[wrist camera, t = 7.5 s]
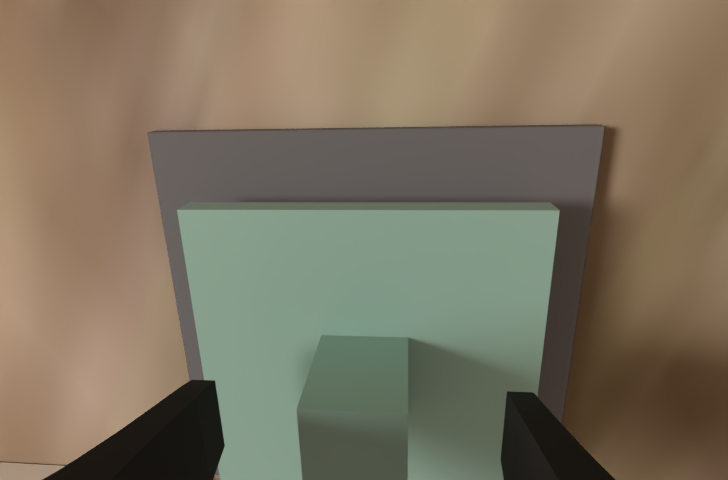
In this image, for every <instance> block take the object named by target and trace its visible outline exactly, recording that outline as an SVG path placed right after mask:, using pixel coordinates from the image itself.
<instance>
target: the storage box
mask: <svg viewBox="0 0 728 480" xmlns="http://www.w3.org/2000/svg"><path fill="white" fill-rule="evenodd" d="M63 467H65V466H59V465H41V464H23V463H5V462H0V480H42V479H44V478H46V477H48V476H49V475H51V474H53V473H55V472H56V471H58V470H60V469H61V468H63Z"/></svg>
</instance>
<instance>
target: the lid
mask: <svg viewBox="0 0 728 480" xmlns="http://www.w3.org/2000/svg"><path fill="white" fill-rule="evenodd" d="M559 212H560V210H559V209H557V208H556V207H555V206H554V205H553V204H552V203H551V202H190V203H188V204H186V205H184V206H183V207H181V208H179V209H177V213H178V219H179V226H180V232H181V238H182V244H183V251H184V257H185V263H186V269H187V276H188V282H189V288H190V294H191V301H192V307H193V313H194V319H195V326H196V332H197V338H198V344H199V351H200V357H201V363H202V370H203V376H204V380H215V383H216V390H217V397H218V404H219V410H220V417H221V424H222V431H223V437H224V444H225V447H224V450H223V453H222V455H221V458H220V461H219V464H218V470H219V476H220V480H504V478H503V472H502V466H501V450H502V439H503V428H504V417H505V406H506V396H507V391H510V392H533V393H534V394H535V395H536V396H538V387H539V379H540V371H541V362H542V354H543V346H544V337H545V329H546V321H547V312H548V304H549V296H550V287H551V279H552V271H553V262H554V254H555V246H556V237H557V229H558V221H559Z"/></svg>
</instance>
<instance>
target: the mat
mask: <svg viewBox="0 0 728 480" xmlns="http://www.w3.org/2000/svg"><path fill="white" fill-rule="evenodd" d="M604 128H605V126H602V125H528V126H456V127H385V128H314V129H242V130H171V131H152V132H147V134H148V140H149V146H150V151H151V157H152V163H153V169H154V175H155V180H156V186H157V192H158V198H159V204H160V210H161V215H162V221H163V227H164V233H165V239H166V244H167V250H168V256H169V262H170V268H171V274H172V279H173V285H174V291H175V297H176V303H177V309H178V314H179V320H180V326H181V332H182V338H183V343H184V349H185V355H186V361H187V367H188V373H189V378H190V381H191V380H204V376H203V370H202V363H201V357H200V351H199V344H198V338H197V332H196V326H195V319H194V313H193V307H192V301H191V294H190V288H189V282H188V276H187V269H186V263H185V257H184V251H183V244H182V238H181V232H180V226H179V219H178V213H177V209H179V208H181V207H183V206H184V205H186V204H188V203H190V202H551V203H552V204H553V205H554V206H555V207H556V208H557V209H559V210H560V212H559V221H558V229H557V237H556V246H555V254H554V262H553V271H552V279H551V287H550V296H549V304H548V312H547V321H546V329H545V337H544V346H543V354H542V362H541V371H540V379H539V387H538V396H537V397H538V398H539V399H540V400H541V401H542V402H543V404H544V405H545V406H546V407H547V408H548V409H549V410H550V412H551V413H552V414H553V415H554V416H555V417H556V418H557V419H558V421H559V422H560V423H561V424H562V419H563V412H564V406H565V399H566V392H567V385H568V378H569V371H570V364H571V357H572V350H573V343H574V336H575V329H576V322H577V315H578V308H579V301H580V294H581V288H582V281H583V274H584V267H585V260H586V253H587V246H588V239H589V232H590V225H591V218H592V211H593V204H594V197H595V190H596V183H597V176H598V170H599V163H600V156H601V149H602V142H603V135H604ZM215 475H219V470H218V467H217V470H216V473H215Z"/></svg>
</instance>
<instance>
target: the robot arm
mask: <svg viewBox="0 0 728 480" xmlns="http://www.w3.org/2000/svg"><path fill="white" fill-rule="evenodd" d="M224 447H225V444H224V437H223V431H222V424H221V417H220V410H219V404H218V397H217V390H216V383H215V380H191V381H189V382H188V383H186V384H184V385H183V386H182V387H180V388H179V389H177V390H176V391H174V392H173V393H172V394H170V395H169V396H167V397H166V398H165V399H163V400H162V401H160V402H159V403H158V404H156V405H155V406H154V407H152V408H151V409H149V410H148V411H147V412H145V413H144V414H142V415H141V416H140V417H138V418H137V419H135V420H134V421H133V422H131V423H130V424H128V425H127V426H126V427H124V428H123V429H121V430H120V431H118V432H117V433H115V434H114V435H112V436H111V437H109V438H108V439H106V440H105V441H103V442H102V443H100V444H99V445H97V446H96V447H94V448H93V449H91V450H90V451H88V452H87V453H85V454H84V455H82V456H81V457H79V458H78V459H76V460H74V461H73V462H71V463H70V464H68V465H66V466H65V467H63V468H61V469H60V470H58V471H56V472H55V473H53V474H51V475H49V476H48V477H46V478H44V479H42V480H213V478H214V475H215V473H216V470H217V467H218V464H219V461H220V458H221V455H222V453H223V450H224ZM501 466H502V472H503V478H504V480H615V479H614V478H613V477H612V476H611V475H610V474H609V473H608V472H607V471H606V470H605V469H604V468H603V467H602V466H601V465H600V464H599V463H598V462H597V461H596V460H595V459H594V458H593V457H592V456H591V455H590V454H589V453H588V452H587V451H586V450H585V449H584V448H583V447H582V446H581V445H580V444H579V442H578V441H577V440H576V439H575V438H574V437H573V436H572V435H571V434H570V433H569V432H568V431H567V429H566V428H565V427H564V426H563V425H562V424H561V423H560V422H559V421H558V419H557V418H556V417H555V416H554V415H553V414H552V413H551V412H550V410H549V409H548V408H547V407H546V406H545V405H544V404H543V402H542V401H541V400H540V399H539V398H538V397H537V396H536V395H535V394H534V393H533V392H510V391H507V396H506V406H505V417H504V428H503V439H502V450H501Z"/></svg>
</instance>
